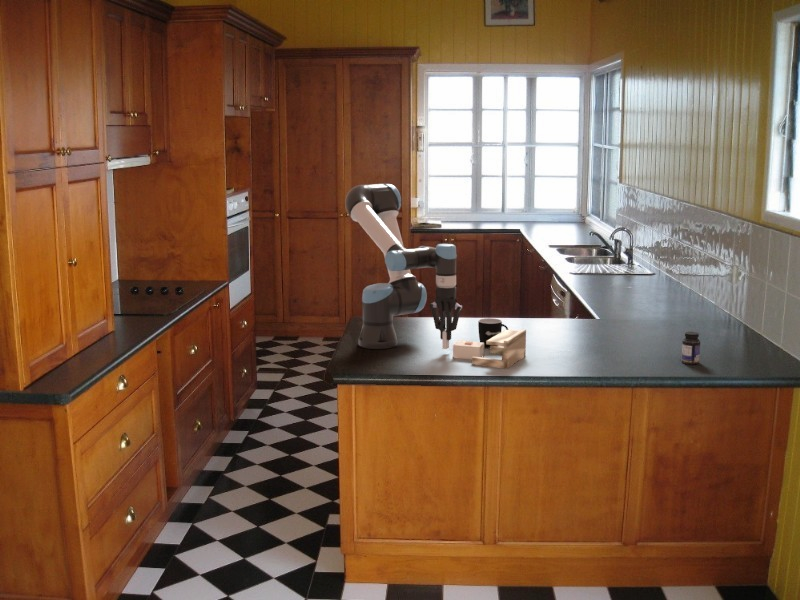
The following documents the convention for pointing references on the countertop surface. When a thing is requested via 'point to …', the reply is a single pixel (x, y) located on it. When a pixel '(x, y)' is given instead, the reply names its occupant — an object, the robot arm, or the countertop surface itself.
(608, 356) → the countertop surface
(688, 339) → the pill bottle
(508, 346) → the shelf
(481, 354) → the cream white block
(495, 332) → the mug
